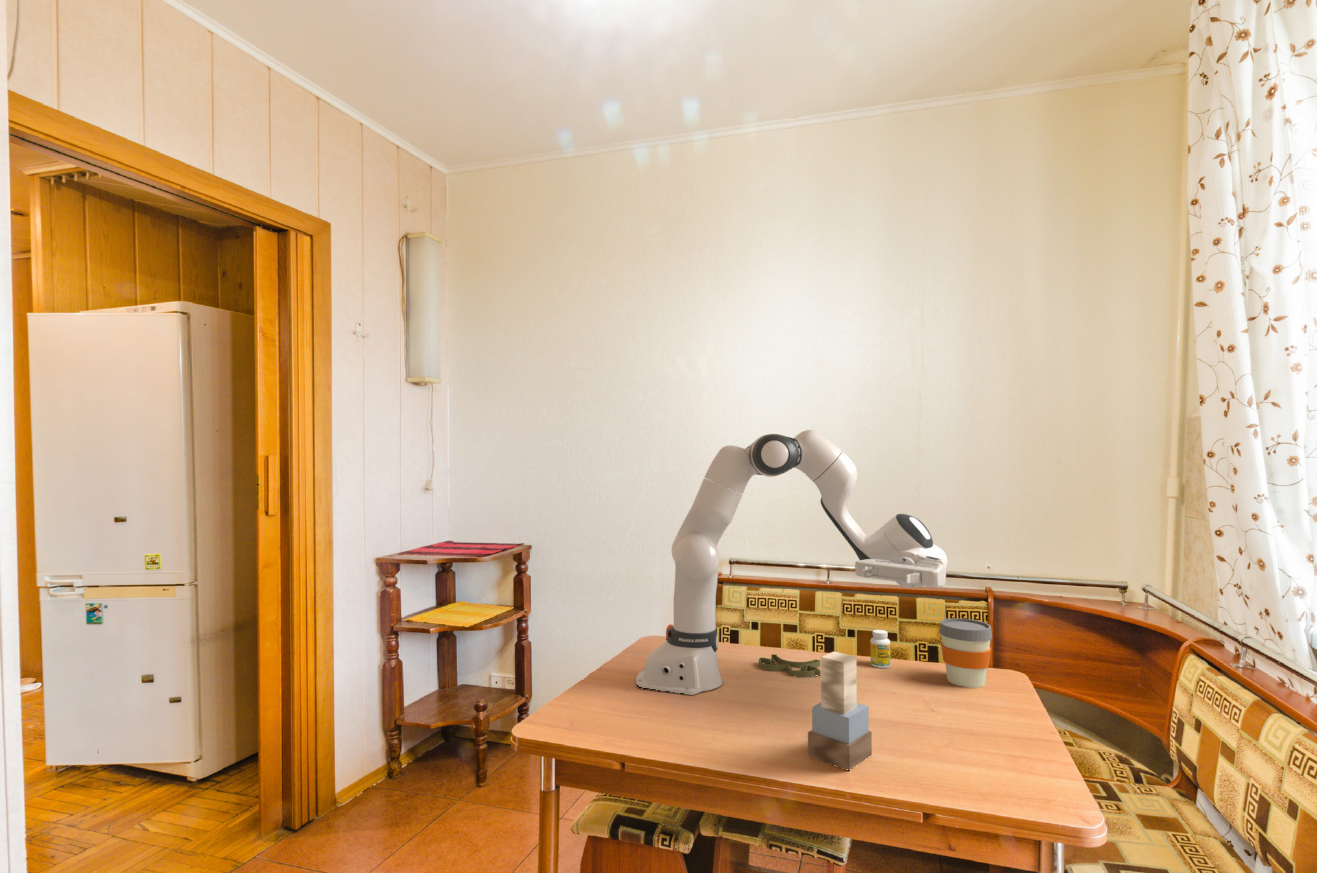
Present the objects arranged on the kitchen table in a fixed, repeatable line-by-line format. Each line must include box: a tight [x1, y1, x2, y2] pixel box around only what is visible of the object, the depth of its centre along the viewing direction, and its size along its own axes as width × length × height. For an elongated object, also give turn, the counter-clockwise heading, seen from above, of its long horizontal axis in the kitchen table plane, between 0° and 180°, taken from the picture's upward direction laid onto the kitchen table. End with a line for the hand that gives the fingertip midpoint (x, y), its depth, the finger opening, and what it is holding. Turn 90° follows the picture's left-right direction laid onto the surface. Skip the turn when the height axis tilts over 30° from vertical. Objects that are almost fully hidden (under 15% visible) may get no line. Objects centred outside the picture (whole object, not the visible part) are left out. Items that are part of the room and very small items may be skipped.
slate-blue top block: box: [811, 701, 870, 744], centre depth 134 cm, size 8×8×5 cm
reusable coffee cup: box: [939, 617, 993, 689], centre depth 176 cm, size 13×13×15 cm
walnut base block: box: [807, 729, 873, 770], centre depth 134 cm, size 9×9×5 cm
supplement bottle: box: [869, 629, 892, 669], centre depth 189 cm, size 5×5×10 cm
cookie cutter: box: [758, 653, 821, 679], centre depth 187 cm, size 18×12×2 cm, turn 64°
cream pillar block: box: [820, 651, 858, 714], centre depth 134 cm, size 5×5×10 cm
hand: (884, 576), depth 154 cm, fingers open, 8 cm apart
